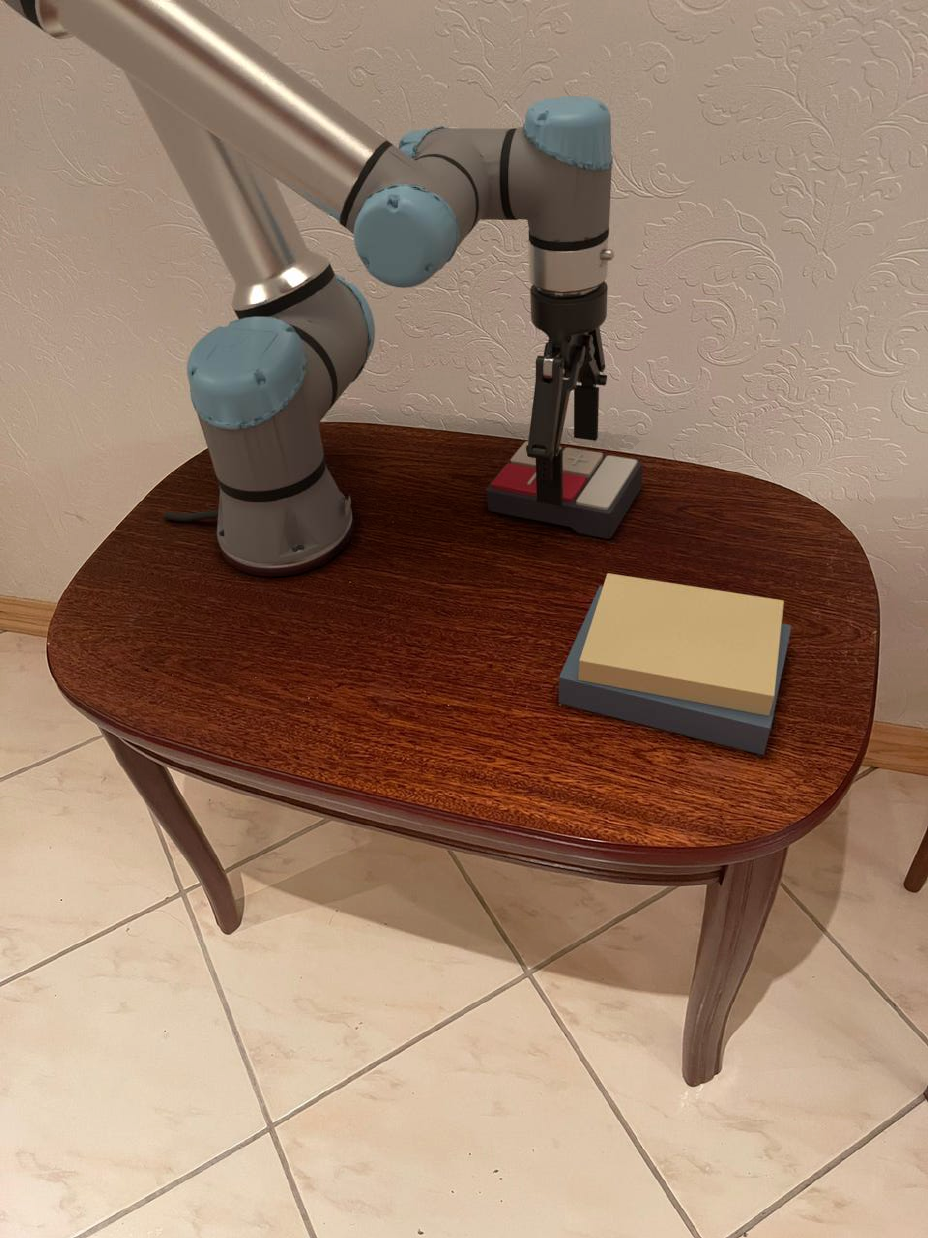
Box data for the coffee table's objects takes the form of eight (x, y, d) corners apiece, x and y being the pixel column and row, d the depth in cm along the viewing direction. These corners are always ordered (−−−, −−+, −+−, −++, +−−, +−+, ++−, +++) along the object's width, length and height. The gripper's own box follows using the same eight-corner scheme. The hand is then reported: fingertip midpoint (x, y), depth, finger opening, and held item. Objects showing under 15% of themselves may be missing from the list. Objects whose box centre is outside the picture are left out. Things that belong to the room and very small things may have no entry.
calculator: (523, 436, 107) (643, 455, 101) (525, 466, 110) (642, 486, 104) (483, 484, 100) (610, 507, 94) (487, 515, 103) (610, 540, 97)
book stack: (558, 703, 80) (559, 656, 76) (598, 610, 89) (601, 563, 85) (763, 755, 74) (776, 708, 70) (785, 650, 83) (797, 602, 79)
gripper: (567, 342, 76) (567, 538, 91) (638, 238, 93) (629, 417, 107) (486, 333, 79) (498, 526, 93) (569, 233, 95) (569, 410, 110)
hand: (568, 468), depth 100 cm, fingers open, 13 cm apart
